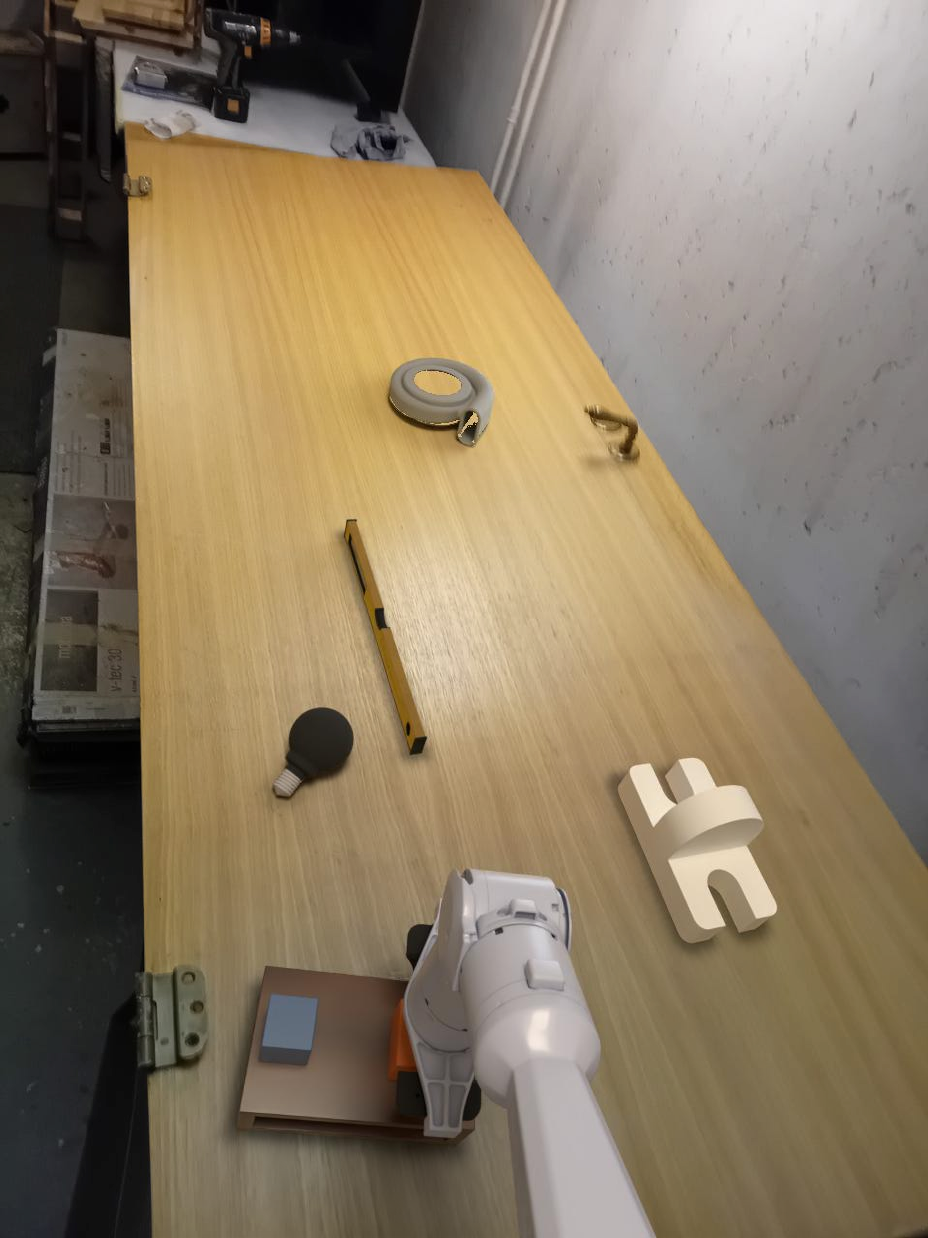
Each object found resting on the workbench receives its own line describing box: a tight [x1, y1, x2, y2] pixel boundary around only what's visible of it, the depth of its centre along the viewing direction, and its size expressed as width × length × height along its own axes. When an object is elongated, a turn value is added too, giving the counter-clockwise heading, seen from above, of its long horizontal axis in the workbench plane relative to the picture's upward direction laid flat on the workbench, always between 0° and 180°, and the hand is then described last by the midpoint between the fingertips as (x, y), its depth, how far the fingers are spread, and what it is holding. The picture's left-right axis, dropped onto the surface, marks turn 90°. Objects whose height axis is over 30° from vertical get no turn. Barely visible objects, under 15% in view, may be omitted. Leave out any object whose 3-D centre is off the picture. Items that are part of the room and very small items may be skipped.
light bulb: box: [272, 706, 355, 797], centre depth 81 cm, size 6×6×10 cm
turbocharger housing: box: [388, 357, 495, 447], centre depth 129 cm, size 17×6×15 cm
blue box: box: [259, 994, 319, 1065], centre depth 59 cm, size 4×4×4 cm
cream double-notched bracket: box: [616, 757, 778, 944], centre depth 83 cm, size 10×18×11 cm, turn 15°
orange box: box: [387, 999, 418, 1080], centre depth 61 cm, size 4×4×4 cm
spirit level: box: [343, 518, 428, 755], centre depth 96 cm, size 33×1×3 cm, turn 17°
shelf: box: [236, 965, 476, 1147], centre depth 64 cm, size 10×17×6 cm, turn 88°
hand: (423, 1043), depth 61 cm, fingers open, 7 cm apart
